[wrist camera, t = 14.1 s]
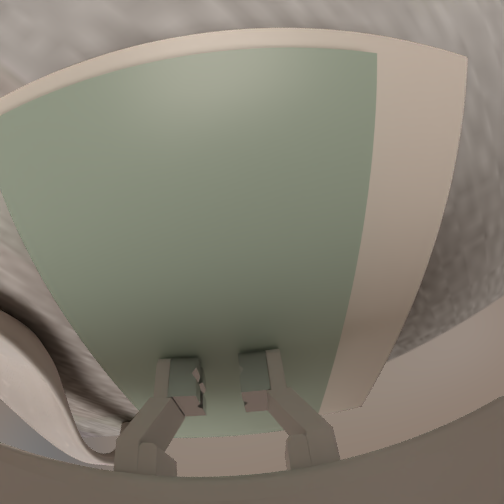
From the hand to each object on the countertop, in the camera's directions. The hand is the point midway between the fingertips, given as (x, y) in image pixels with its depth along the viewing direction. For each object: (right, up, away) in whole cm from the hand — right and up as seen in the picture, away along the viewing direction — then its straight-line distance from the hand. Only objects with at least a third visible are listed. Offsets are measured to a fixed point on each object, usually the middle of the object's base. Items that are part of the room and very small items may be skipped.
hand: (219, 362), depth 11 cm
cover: (0, +1, 0) cm, 1 cm away
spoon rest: (-16, -6, +11) cm, 21 cm away
